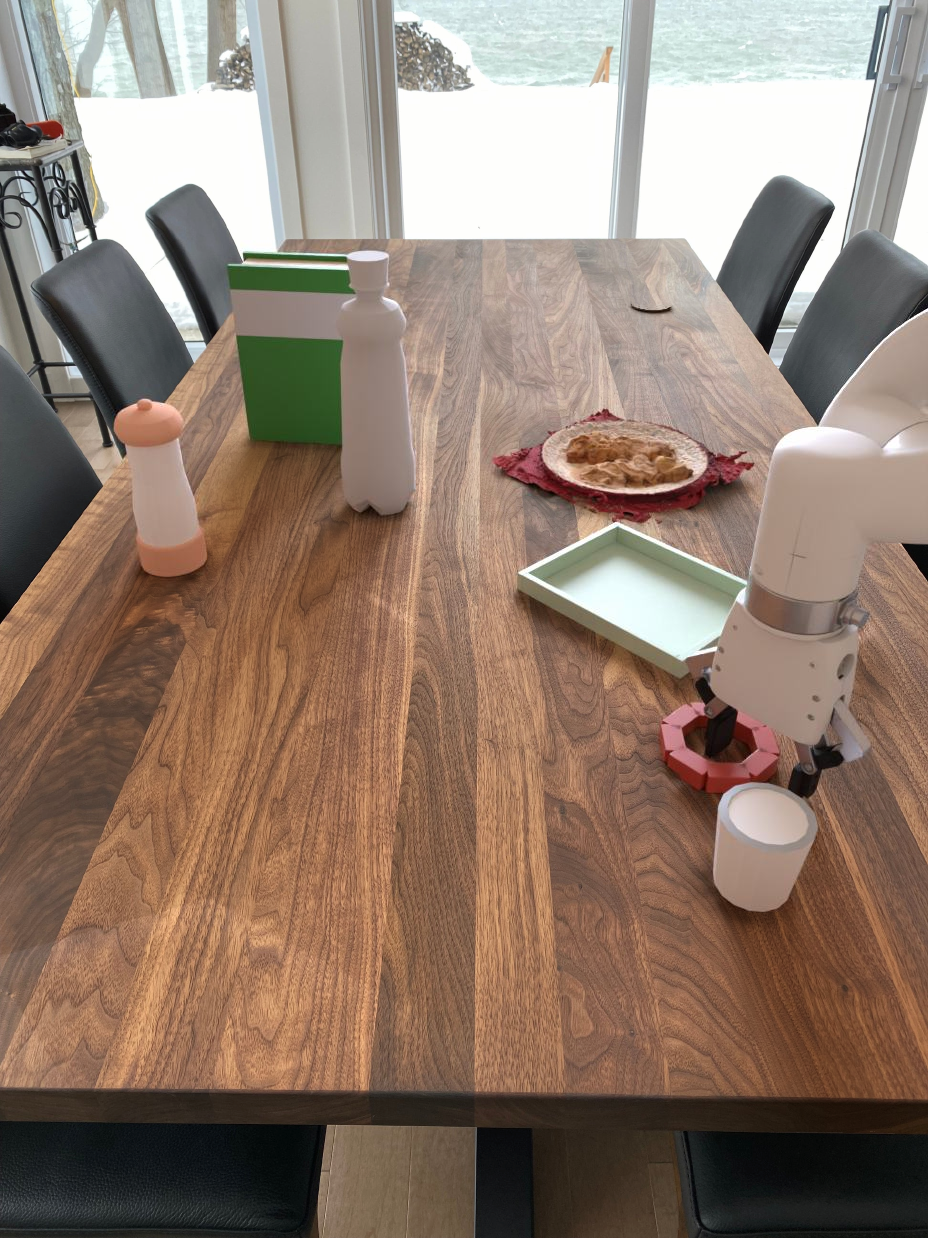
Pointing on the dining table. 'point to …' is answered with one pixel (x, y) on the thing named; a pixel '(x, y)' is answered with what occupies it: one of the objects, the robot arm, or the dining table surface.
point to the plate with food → (623, 466)
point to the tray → (637, 594)
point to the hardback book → (290, 343)
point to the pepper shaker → (160, 490)
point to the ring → (712, 773)
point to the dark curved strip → (649, 310)
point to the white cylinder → (761, 844)
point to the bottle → (374, 392)
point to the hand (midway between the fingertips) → (756, 771)
